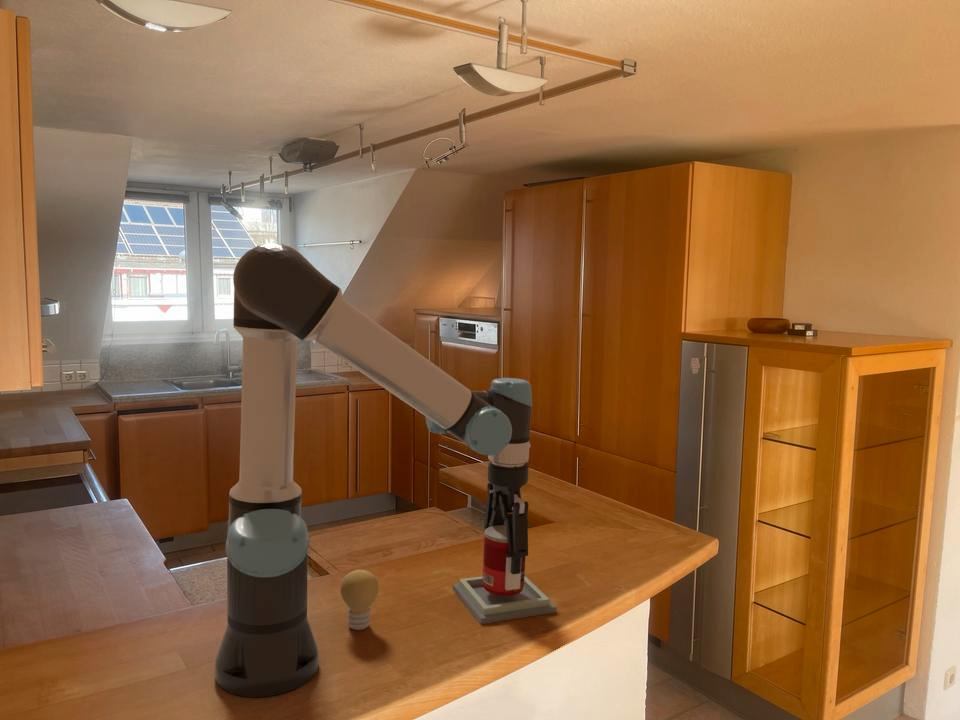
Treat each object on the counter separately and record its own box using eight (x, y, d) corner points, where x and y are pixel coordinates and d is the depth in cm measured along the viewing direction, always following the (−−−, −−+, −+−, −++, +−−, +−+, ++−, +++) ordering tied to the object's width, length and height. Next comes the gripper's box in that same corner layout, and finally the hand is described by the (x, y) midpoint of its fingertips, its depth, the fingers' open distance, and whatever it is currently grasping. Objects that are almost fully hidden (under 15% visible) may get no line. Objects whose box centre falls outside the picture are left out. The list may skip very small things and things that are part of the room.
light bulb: (363, 614, 129) (364, 560, 127) (384, 627, 124) (386, 572, 123) (332, 625, 124) (333, 570, 123) (354, 639, 120) (355, 582, 118)
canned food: (520, 599, 131) (523, 541, 130) (478, 593, 133) (480, 536, 132) (526, 582, 139) (529, 527, 138) (486, 577, 140) (488, 522, 139)
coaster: (480, 624, 127) (481, 612, 126) (452, 588, 140) (452, 577, 140) (556, 612, 132) (556, 600, 132) (521, 579, 146) (522, 568, 146)
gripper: (552, 475, 125) (545, 600, 128) (504, 447, 144) (500, 556, 147) (512, 478, 122) (507, 605, 125) (469, 449, 141) (465, 560, 144)
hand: (503, 579), depth 136 cm, fingers closed on canned food, 8 cm apart
